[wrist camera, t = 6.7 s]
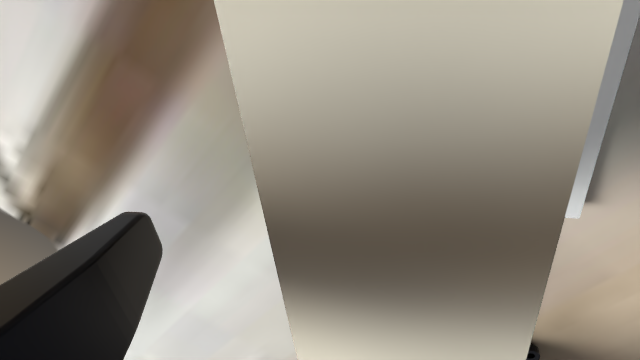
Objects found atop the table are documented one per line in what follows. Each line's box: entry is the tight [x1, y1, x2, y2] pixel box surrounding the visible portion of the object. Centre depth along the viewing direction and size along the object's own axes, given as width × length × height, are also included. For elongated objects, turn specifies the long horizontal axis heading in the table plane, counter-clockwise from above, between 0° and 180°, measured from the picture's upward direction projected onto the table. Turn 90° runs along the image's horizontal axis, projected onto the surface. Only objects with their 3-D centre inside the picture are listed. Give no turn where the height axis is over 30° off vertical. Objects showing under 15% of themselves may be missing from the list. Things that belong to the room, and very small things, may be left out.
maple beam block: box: [214, 0, 624, 360], centre depth 10 cm, size 12×4×6 cm, turn 6°
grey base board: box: [565, 0, 640, 218], centre depth 16 cm, size 17×14×1 cm
